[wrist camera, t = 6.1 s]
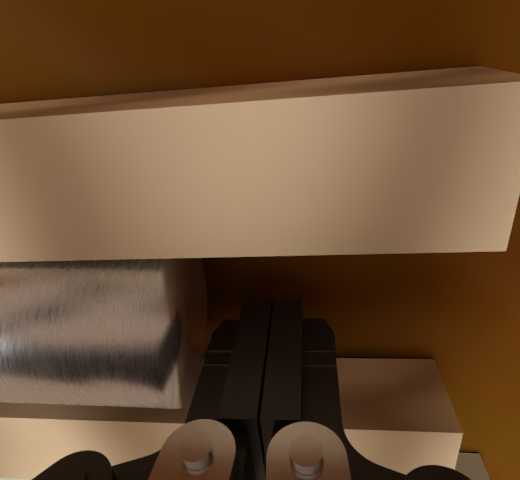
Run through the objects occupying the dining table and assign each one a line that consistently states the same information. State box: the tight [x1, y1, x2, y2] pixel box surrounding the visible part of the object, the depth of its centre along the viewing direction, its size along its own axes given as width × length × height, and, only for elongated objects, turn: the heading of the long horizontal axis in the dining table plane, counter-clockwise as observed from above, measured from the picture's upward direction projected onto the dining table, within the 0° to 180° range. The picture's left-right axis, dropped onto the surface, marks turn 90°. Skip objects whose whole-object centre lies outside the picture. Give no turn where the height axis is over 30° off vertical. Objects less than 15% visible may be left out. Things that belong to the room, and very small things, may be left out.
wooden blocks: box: [0, 66, 520, 479], centre depth 11 cm, size 16×11×2 cm
